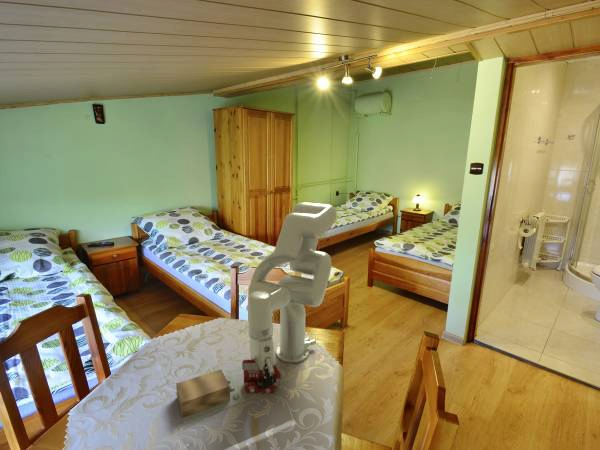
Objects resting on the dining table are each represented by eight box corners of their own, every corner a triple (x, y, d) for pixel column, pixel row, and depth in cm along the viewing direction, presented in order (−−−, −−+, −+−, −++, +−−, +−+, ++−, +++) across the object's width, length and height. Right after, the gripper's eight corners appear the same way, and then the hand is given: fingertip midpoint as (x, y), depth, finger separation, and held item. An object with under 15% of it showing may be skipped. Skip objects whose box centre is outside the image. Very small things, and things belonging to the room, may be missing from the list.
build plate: (231, 377, 111) (231, 372, 111) (245, 404, 99) (245, 399, 99) (176, 395, 102) (175, 391, 102) (184, 427, 90) (184, 422, 90)
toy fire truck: (279, 396, 102) (279, 367, 100) (240, 396, 102) (240, 367, 100) (281, 381, 109) (281, 354, 107) (244, 381, 109) (243, 353, 107)
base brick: (221, 382, 107) (221, 369, 106) (230, 400, 99) (229, 386, 98) (177, 397, 100) (176, 383, 99) (182, 417, 92) (181, 402, 91)
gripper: (283, 340, 96) (283, 390, 99) (261, 315, 110) (261, 359, 114) (260, 347, 92) (261, 399, 96) (240, 320, 107) (241, 366, 111)
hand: (261, 377), depth 105 cm, fingers closed on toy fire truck, 8 cm apart
